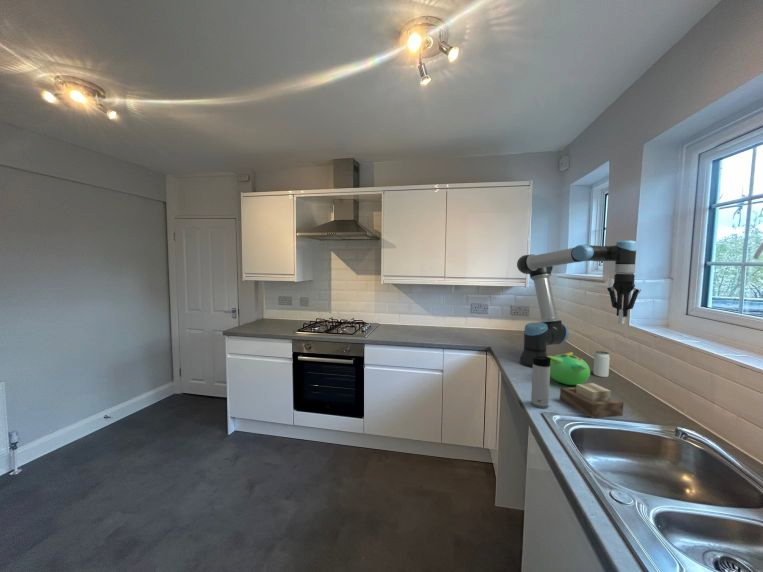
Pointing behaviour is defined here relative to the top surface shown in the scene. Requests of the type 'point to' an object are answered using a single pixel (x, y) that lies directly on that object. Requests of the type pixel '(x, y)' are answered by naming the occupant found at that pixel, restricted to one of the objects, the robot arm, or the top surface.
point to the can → (601, 364)
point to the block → (593, 392)
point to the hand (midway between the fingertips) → (621, 323)
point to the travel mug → (540, 382)
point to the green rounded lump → (569, 369)
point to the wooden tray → (591, 404)
